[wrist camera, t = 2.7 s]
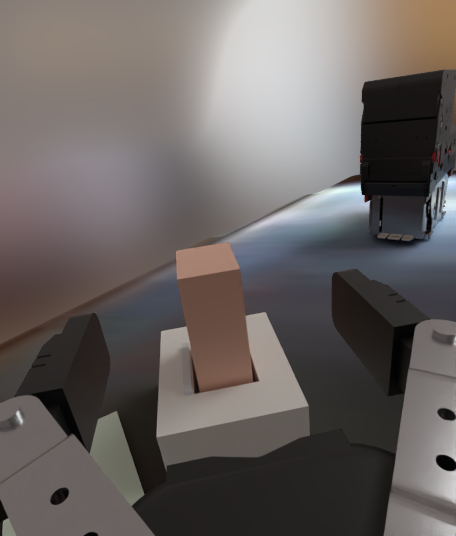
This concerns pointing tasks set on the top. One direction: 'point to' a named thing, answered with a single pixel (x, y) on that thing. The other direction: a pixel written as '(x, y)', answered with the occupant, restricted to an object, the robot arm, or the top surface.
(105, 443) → the mat
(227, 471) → the robot arm
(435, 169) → the bill acceptor
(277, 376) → the white square socket block
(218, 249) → the tall brown pillar
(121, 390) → the top surface
